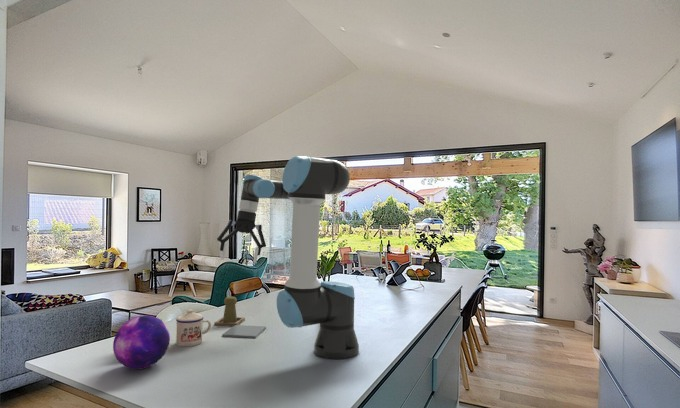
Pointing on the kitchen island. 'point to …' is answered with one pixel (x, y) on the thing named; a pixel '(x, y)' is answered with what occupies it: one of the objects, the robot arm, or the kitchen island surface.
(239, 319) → the walnut collar
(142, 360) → the decorative orb
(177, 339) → the teacup with lid
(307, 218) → the robot arm
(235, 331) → the slate coaster
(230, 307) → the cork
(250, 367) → the kitchen island surface
